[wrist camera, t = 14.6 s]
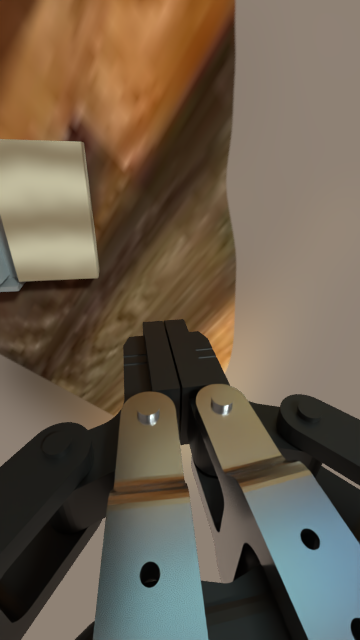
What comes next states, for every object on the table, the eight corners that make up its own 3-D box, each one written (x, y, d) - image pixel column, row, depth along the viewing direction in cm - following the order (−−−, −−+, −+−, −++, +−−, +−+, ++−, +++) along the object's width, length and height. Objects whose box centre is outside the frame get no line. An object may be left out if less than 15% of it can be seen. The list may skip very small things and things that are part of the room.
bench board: (-9, 139, 30) (-21, 138, 27) (83, 142, 31) (80, 141, 28) (25, 272, 37) (18, 281, 34) (99, 269, 38) (98, 278, 36)
